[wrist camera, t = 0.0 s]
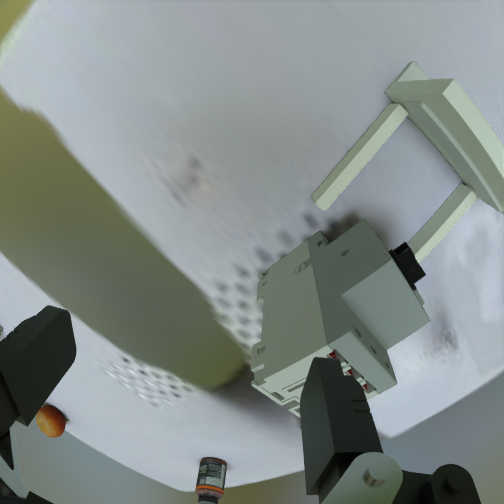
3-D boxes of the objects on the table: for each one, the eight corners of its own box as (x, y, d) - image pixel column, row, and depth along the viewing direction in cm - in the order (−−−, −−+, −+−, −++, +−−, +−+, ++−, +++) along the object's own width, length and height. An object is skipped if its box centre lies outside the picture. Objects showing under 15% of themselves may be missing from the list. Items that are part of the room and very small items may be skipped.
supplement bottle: (220, 468, 59) (214, 509, 49) (196, 461, 58) (188, 503, 48) (232, 461, 57) (226, 505, 47) (207, 454, 56) (199, 499, 45)
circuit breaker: (403, 246, 31) (466, 340, 18) (300, 316, 36) (309, 426, 23) (368, 193, 29) (434, 273, 15) (258, 275, 34) (248, 386, 20)
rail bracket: (410, 62, 22) (474, 51, 12) (494, 166, 26) (558, 199, 16) (303, 189, 29) (318, 238, 19) (401, 272, 32) (439, 337, 23)
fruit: (62, 429, 58) (40, 440, 50) (49, 401, 59) (27, 410, 51) (78, 430, 56) (56, 442, 48) (65, 400, 57) (41, 410, 49)
